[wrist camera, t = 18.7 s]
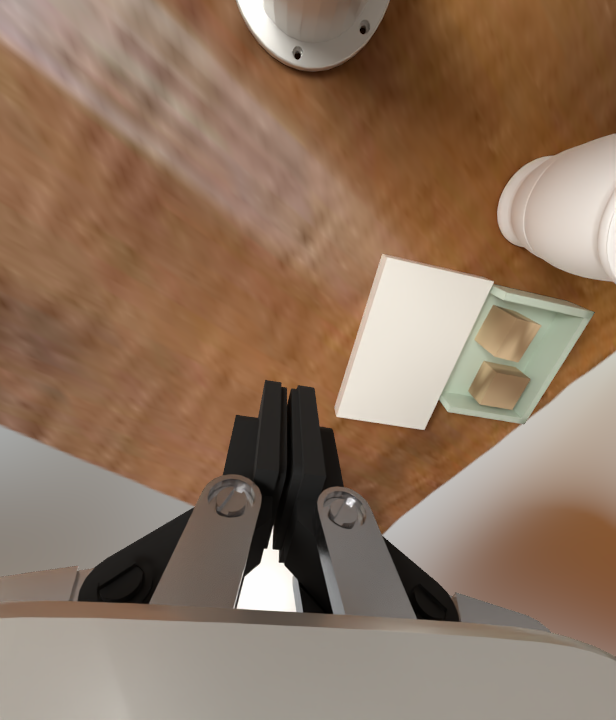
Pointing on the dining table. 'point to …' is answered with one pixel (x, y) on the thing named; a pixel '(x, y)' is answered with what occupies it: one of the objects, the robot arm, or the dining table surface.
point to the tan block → (498, 385)
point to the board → (409, 341)
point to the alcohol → (268, 585)
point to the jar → (566, 209)
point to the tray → (536, 363)
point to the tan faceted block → (506, 333)
